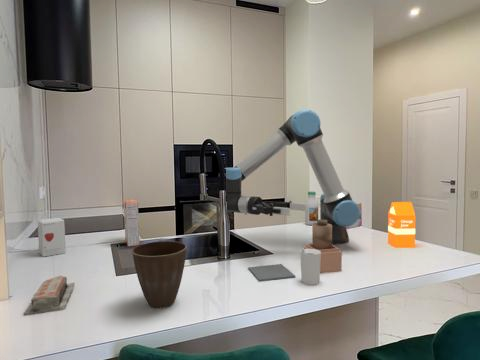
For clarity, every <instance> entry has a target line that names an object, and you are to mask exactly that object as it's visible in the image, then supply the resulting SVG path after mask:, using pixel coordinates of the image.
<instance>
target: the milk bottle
mask: <svg viewBox="0 0 480 360" xmlns="http://www.w3.org/2000/svg"><path fill="white" fill-rule="evenodd" d="M316 195H317V194H316V191H313V190H312V191H310V190H309V191H307V200H306V202H305V211H304V213H305V214H304V216H305V217H304V219H305V220H304V222H305V223H304V224H305V225H306V226H312V224H314V223H317V220H319V204H318V201H317V199H316Z"/></svg>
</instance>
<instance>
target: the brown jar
mask: <svg viewBox="0 0 480 360" xmlns="http://www.w3.org/2000/svg"><path fill="white" fill-rule="evenodd" d="M311 226H312V227H311V228H312V231H311V232H312V234H311V235H312V236H311V238H312V239H311V240H312V241H311V242H312V243H311V244H312V247H313V248H315V249H317V250H323V249H332V245H333V244H332V225H331V224H328V223H327V220H320V219H318V220H317V223H314V224H312V225H311Z"/></svg>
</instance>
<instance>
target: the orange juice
mask: <svg viewBox="0 0 480 360" xmlns="http://www.w3.org/2000/svg"><path fill="white" fill-rule="evenodd" d="M389 208H390V209H389V210H388V214H387V215H388V222H387V223H388V224H387V244H389V245H390V246H392V247H393V248H395V249H398V248H399V249H403V248H405V249H406V248H409V249H410V248H412V249H413V248H414V249H415V248H416V213H415V209H414V206H413V203H412V201H393V202H391V204H390V207H389Z"/></svg>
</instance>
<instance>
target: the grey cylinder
mask: <svg viewBox="0 0 480 360" xmlns="http://www.w3.org/2000/svg"><path fill="white" fill-rule="evenodd" d="M299 256H300V273H301V275H300V276H301V278H300V279H301V280H300V281H301V283H303V284H305V285H309V286H310V285H311V286H314V285H319V284H320V280H321V279H320V277H321V273H320V261H321V252H320V251H319V250H316V249H304V248H302V249H300V251H299Z"/></svg>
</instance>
